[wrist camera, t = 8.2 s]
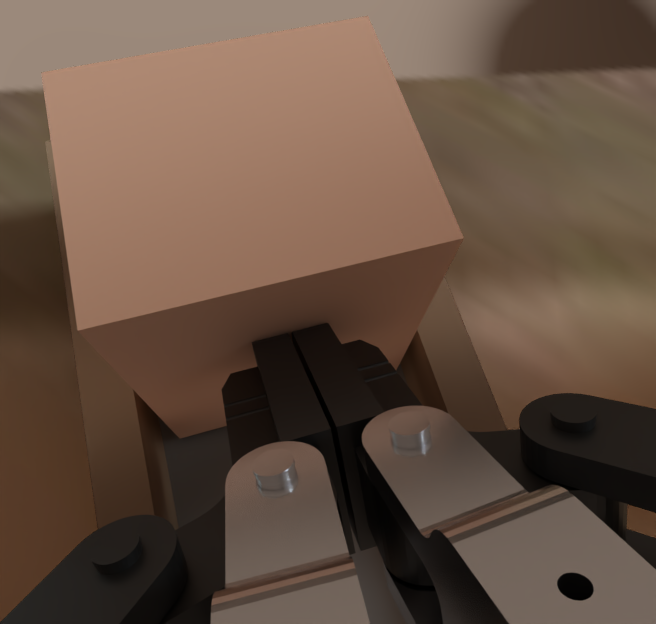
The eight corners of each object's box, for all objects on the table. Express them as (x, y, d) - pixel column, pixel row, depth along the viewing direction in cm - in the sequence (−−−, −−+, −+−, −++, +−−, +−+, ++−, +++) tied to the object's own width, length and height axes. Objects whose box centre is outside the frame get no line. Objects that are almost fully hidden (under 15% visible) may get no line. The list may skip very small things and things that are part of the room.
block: (390, 381, 17) (463, 238, 9) (179, 438, 16) (77, 330, 8) (340, 232, 19) (368, 15, 11) (148, 276, 18) (41, 72, 10)
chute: (653, 942, 13) (762, 1057, 10) (231, 1135, 12) (207, 1342, 8) (355, 150, 21) (364, 80, 18) (84, 206, 20) (45, 141, 16)
